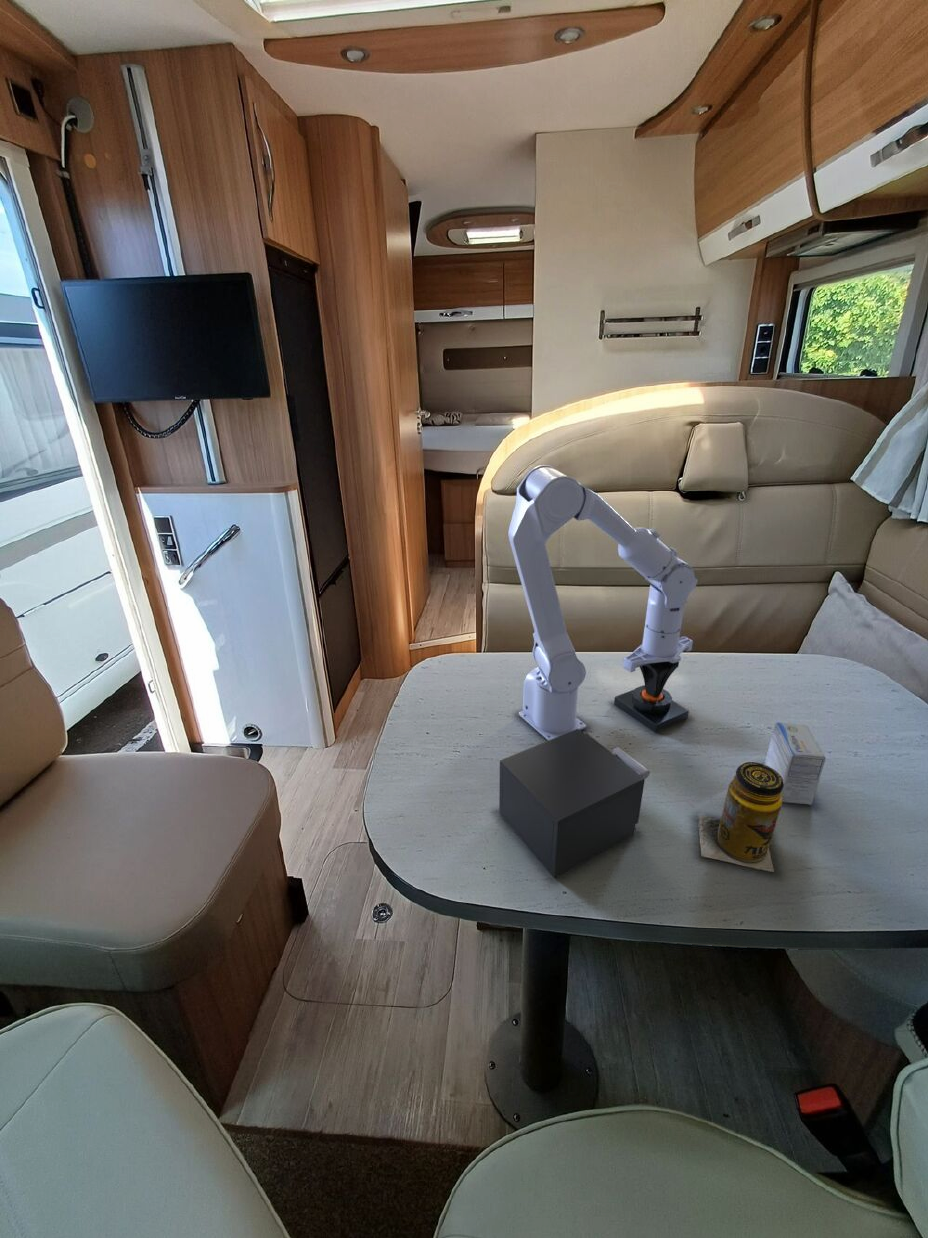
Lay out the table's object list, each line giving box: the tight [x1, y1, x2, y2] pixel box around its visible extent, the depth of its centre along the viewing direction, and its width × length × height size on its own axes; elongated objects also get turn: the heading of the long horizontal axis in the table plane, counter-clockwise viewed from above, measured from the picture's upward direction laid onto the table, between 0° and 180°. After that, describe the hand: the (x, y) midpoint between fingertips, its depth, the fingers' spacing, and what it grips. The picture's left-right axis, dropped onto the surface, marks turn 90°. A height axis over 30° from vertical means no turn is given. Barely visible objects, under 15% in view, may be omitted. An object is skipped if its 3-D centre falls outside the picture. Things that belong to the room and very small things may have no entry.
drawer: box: [584, 732, 651, 825], centre depth 77 cm, size 17×11×8 cm
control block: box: [613, 684, 690, 734], centre depth 100 cm, size 10×8×4 cm
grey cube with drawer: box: [498, 729, 642, 879], centre depth 75 cm, size 14×13×10 cm
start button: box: [641, 689, 663, 702], centre depth 99 cm, size 4×4×2 cm
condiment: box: [697, 761, 784, 873], centre depth 71 cm, size 7×8×12 cm
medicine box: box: [764, 721, 826, 806], centre depth 81 cm, size 8×4×9 cm, turn 168°
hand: (652, 694), depth 99 cm, fingers closed, pressing on start button
